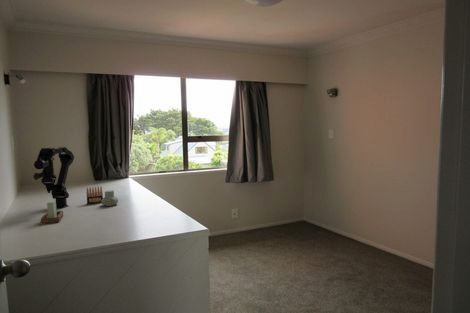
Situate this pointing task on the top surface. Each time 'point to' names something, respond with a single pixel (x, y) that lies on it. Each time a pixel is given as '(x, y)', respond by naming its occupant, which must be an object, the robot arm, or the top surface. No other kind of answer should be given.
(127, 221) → the top surface
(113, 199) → the air freshener
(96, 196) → the ammunition clip
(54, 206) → the pale green rectangular block
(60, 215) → the brown wooden tray
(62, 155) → the robot arm
